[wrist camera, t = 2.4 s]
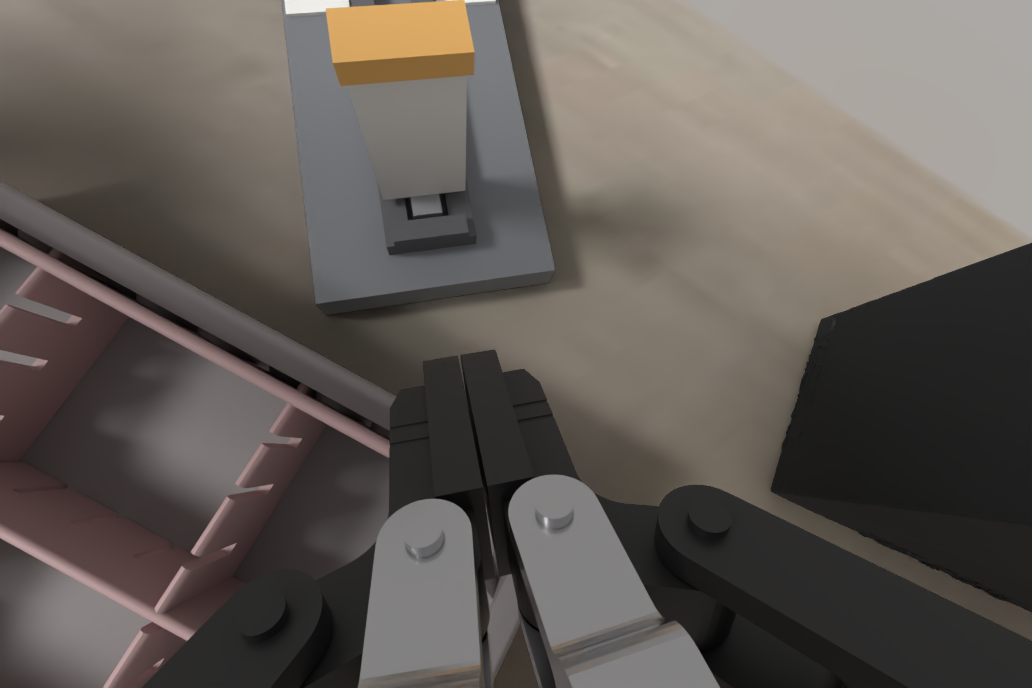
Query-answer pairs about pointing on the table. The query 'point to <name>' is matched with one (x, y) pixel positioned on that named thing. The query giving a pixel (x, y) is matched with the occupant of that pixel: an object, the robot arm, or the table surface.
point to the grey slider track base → (390, 223)
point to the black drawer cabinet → (926, 424)
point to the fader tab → (408, 93)
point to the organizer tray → (163, 459)
